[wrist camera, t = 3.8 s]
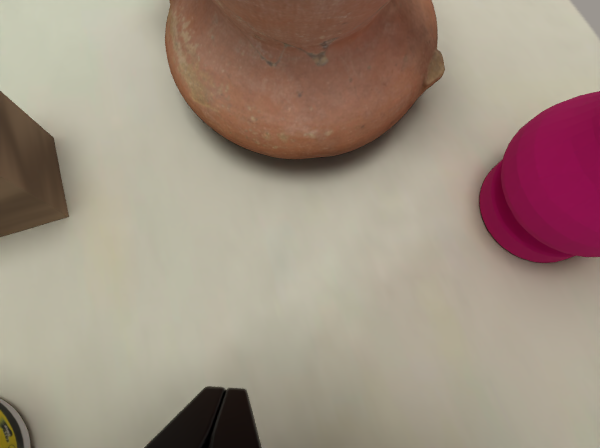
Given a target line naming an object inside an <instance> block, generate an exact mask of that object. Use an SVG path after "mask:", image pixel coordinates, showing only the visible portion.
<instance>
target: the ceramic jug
mask: <svg viewBox="0 0 600 448" xmlns="http://www.w3.org/2000/svg"><path fill="white" fill-rule="evenodd" d="M169 1H170V8H169V13H168V17H167V23H166V33H165V45H166V53H167V59H168V63H169V67H170V71H171V74H172V76H173V79H174V81H175V83H176V85H177V87H178V89H179V91H180V93H181V94H182V96H183V98H184V99H185V101H186V102H187V103H188V105H189V106H190V107H191V109H192V110H193V111H194V112H195V113H196V114H197V115H198V116H199V117H200V118H201V119H202V120H203V121H204V122H205V123H206V124H207V125H208V126H210V127H211V128H212V129H213V130H215V131H216V132H217V133H219V134H220V135H222V136H223V137H225V138H226V139H228V140H229V141H231V142H233V143H235V144H237V145H239V146H241V147H243V148H246V149H248V150H251V151H253V152H257V153H260V154H264V155H267V156H271V157H276V158H283V159H306V158H315V157H328V156H335V155H340V154H343V153H346V152H349V151H352V150H355V149H357V148H359V147H362V146H364V145H366V144H368V143H370V142H372V141H373V140H375V139H377V138H378V137H379V136H381V135H382V134H384V133H385V132H386V131H388V130H389V129H390V128H391V127H392V126H393V125H395V124H396V123H397V122H398V121H399V120H400V119H401V118H402V117H403V116H404V115H405V114H406V113H407V111H408V110H409V109H410V108H411V106H412V105H413V104H414V102H415V101H416V100H417V98H418V97H419V96H421V95H422V94H423V92H424V91H425V90H426V89H428V88H429V87H431V86H432V85H433V84H434V83H435V82H437V81H438V80H439V79H440V78H441V77H442V75H443V73H444V71H445V68H444V62H443V57H442V54H441V52H440V51H438V50H437V21H436V15H435V11H434V7H433V4H432V1H431V0H169Z"/></svg>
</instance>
